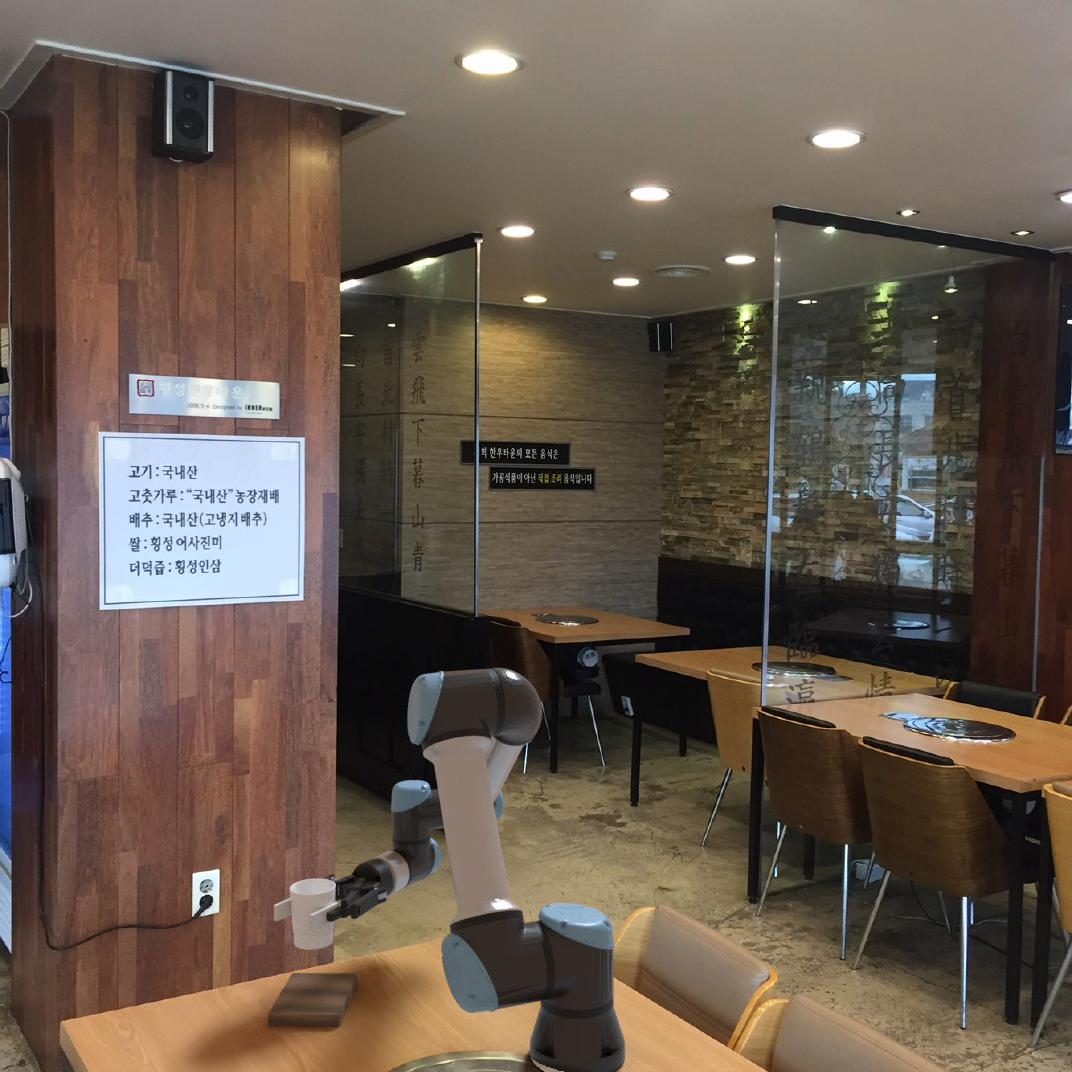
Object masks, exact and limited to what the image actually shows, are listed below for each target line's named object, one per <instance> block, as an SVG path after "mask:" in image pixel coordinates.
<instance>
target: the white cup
mask: <svg viewBox="0 0 1072 1072" xmlns="http://www.w3.org/2000/svg"><path fill="white" fill-rule="evenodd" d="M335 892H336V884H335V883H334V882H333V881H331V880H328V879H323V878H308V879H303V880H298V881H296V882H294V883H292V884H291V885H290V886H289V898H290V900H291V915H290V916H291V924H292V930H293V940H294V941H293V943H294V946H295V947H296V948H297V949H301V950H306V951H314V950H320V949H324V948H326V947H329V946H330V945H331V944H332V943H333V942H334V926H335V921H333V922H331V923H329V924H327V925H325V926H323V927H321V928H319V929H317V930H315V931H310V917H309V915H310V914H312V913H314V912H316V911H318V910H320V909H322V908H325V907H327V906H329V905H331V904H333V903H335V902H336V901H335Z"/></svg>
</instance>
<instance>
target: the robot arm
mask: <svg viewBox="0 0 1072 1072" xmlns="http://www.w3.org/2000/svg"><path fill="white" fill-rule="evenodd" d="M407 705H408V707H407V732H408V736H409V740H410V742H411V743H412V744H414V745H417V746H420V745H421V747H422V754H423V757H424V758H425V759H427V760H428V761H429V762H431V763H432V764H433V765H434V771H435V779H436V783H437V784H436V785H437V789H431V786H430V784H429V782H427V781H424V780H419V779H416V780H415V779H414V780H412V779H409V780H403V781H399V782H397V783H396V784H395V785H394V786H393V788H392V789H391V791H392V792H391V806H390V811H391V829H392V830H391V832H392V833H391V836H392V837H391V838H392V839H391V846H392V848H391V849H390V850H388V851H386V852H383V853H381V854H379V855H377V856H374V857H373V858H371V859H368V860H365V861H364V862H362V863H359V864H358V865H357V866H356V867H355V868H353V871H352V872H351V875H346V876H344V877H341V878H339V879H337V878H336V874H332V873H331V874H328V875H327V876H325V877H324V878H322V879H328V880H331V881H333V882H334V883H335V884H336V892H335V903H333V904H331V905H329V906H327V907H325V908H322V909H320V910H318V911H316V912H314V913H312V914H310V915H309V917H310V931H315V930H317V929H319V928H321V927H323V926H325V925H327V924H329V923H331V922H333V921H334V922H335V921H337V920H340V919H347V918H348V917H350V918H351V919H352V920H357V919H358V918H360V917H362V916H363V915H364V914H366V913H367V912H369V911H370V910H372V909H373V908H375V907H377V906H379V905H380V904H383V903H386V902H387V897H389V896H392V895H393V894H394V893H397V892H398V891H400V890H402V889H404V888H407V887H409V886H411V885H414V883H417V882H419V881H420V882H421V881H423V880H424V879H426V878H427V877H429V876H430V875H432V874H434V872H436V871H437V870H438V869H439V868H440V865H441V863H442V851H441V850H440V847H439V844H438V843H437V841H436V840H434V839H433V838H432V837H431V832H432V830H437V829H444V837H445V842H446V848H447V855H448V862H449V867H450V874H451V881H452V887H453V888H452V889H453V892H454V893H453V894H454V899H455V908H456V913H455V914H454V916H453V918H452V919H451V920H450V922H449V930H450V933H448V934H447V935H446V936H444V937H443V938H442V942H441V950H440V951H441V954H442V956H441V961H442V962H441V963H442V968H443V973H444V977H445V979H446V983H447V986H448V988H449V991H450V993H451V995H452V998H453V1000H455V1003H456V1004H457V1006H458V1007H459V1008H460V1009H462V1010H463V1011H464V1012H466V1013H469V1014H474V1013H475V1014H476V1013H483V1012H490V1013H492V1012H496V1011H498V1010H502V1009H506V1008H507V1009H508V1008H510V1007H517V1006H522V1005H526V1004H532V1003H537V1002H540V1004H539V1005H540V1007H539V1011H538V1014H537V1017H536V1020H535V1023H534V1026H533V1030H532V1033H531V1036H530V1041H529V1056H531V1057H532V1059H533V1060H535V1061H536V1062H538V1063H539V1064H542V1065H545V1066H546V1067H550V1068H553V1069H556V1070H558V1071H564V1072H615V1071H617V1070H618V1069H619V1068H620V1067H621V1066H622V1065H623V1063H624V1061H625V1060H626V1041H625V1037H624V1033H623V1030H622V1028H621V1025H620V1022H619V1019H618V1016H617V1012H616V1009H615V1005H614V998H615V997H614V995H615V994H614V991H615V990H614V988H615V987H614V986H615V985H614V983H615V982H614V975H615V973H614V972H615V971H614V965H615V964H614V960H615V958H614V953H615V952H614V951H615V950H614V949H615V942H614V935H613V934H614V933H613V924H612V922H611V919H610V918H609V916H607V915H606V914H605V913H604V912H602V911H600V910H599V909H596V908H594V907H591V906H587V905H584V904H579V903H574V902H573V903H572V902H571V903H570V902H555V903H549V904H546V905H545V906H543V907H541V909H540V910H539V913H538V916H537V917H538V920H534V921H528V922H525V918H524V913H523V912H524V911H523V908H521V907H520V906H518V905H517V904H515V903H514V902H513V901H512V899H511V895H510V888H509V884H508V883H509V882H508V879H507V878H508V877H507V872H506V867H505V861H504V855H503V854H504V853H503V851H502V850H503V849H502V844H501V838H500V833H499V832H500V831H499V825H498V821H499V820H500V819H501V818H502V816H503V813H504V810H503V809H504V807H505V806H504V795H503V793H502V788H503V786H504V784H505V783H506V780H507V778H508V777H509V775H510V773H511V771H512V769H513V767H514V765H515V763H516V761H517V759H518V757H519V755H520V753H521V751H522V749H523V747H524V746H525V745H527V744H529V743H530V742H532V740H534V738H535V736H536V734H537V732H538V730H539V729H540V726H541V722H542V718H543V709H542V708H543V706H542V703H541V698H540V697H539V694H538V692H537V690H536V688H535V687H534V685H532V683H531V682H530V681H529V680H528V679H527V678H526V677H525V676H523V675H521V674H520V673H518V672H516V671H514V670H511V669H509V668H502V667H492V668H483V669H467V670H466V669H465V670H453V671H451V670H449V671H443V670H439V671H437V672H432V673H424V674H421V675H419V676H418V677H417V678H416V679H415V680H414V682H413V683H412V686H411V689H410V693H409V697H408V703H407ZM338 901H339V902H338ZM289 916H292V915H291V900H290V897H289V898H287V899H283V900H282V901H280V902H278V903H276V904H274V905H273V921H275V922H279V921H281V920H283V919H285V918H288V917H289Z"/></svg>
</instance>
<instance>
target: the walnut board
mask: <svg viewBox="0 0 1072 1072" xmlns="http://www.w3.org/2000/svg"><path fill="white" fill-rule="evenodd" d="M358 978H359V977H358V972H356V973H355V972H353V973H352V972H350V973H349V972H343V973H341V972H337V973H335V972H332V973H331V972H320V973H319V972H317V973H316V972H312V973H311V972H309V973H308V972H292V973H291V974H290V976H289V978H288V980H287V981H286V983H285V985H284V987H283V989H281V991H280V994H279V995H278V997H277V999H276V1000H275V1002H274V1003H273V1006H272V1007H271V1009H270V1011H269V1012H268V1013H267V1018H268V1019H267V1021H268V1022H267V1024H268V1027H329V1028H330V1027H335V1028H336V1027H338V1028H339V1027H341V1026H340V1025H341V1023H342V1021H343V1019H344V1016H345V1014H346V1012H347V1010H348V1007H349V1005H350V1003H351V1000H352V998H353V996H352V995H354V994H353V993H355V991H356V989H355V988H357V987H356V986H358V984H357V983H358V982H359V981H358Z"/></svg>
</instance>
